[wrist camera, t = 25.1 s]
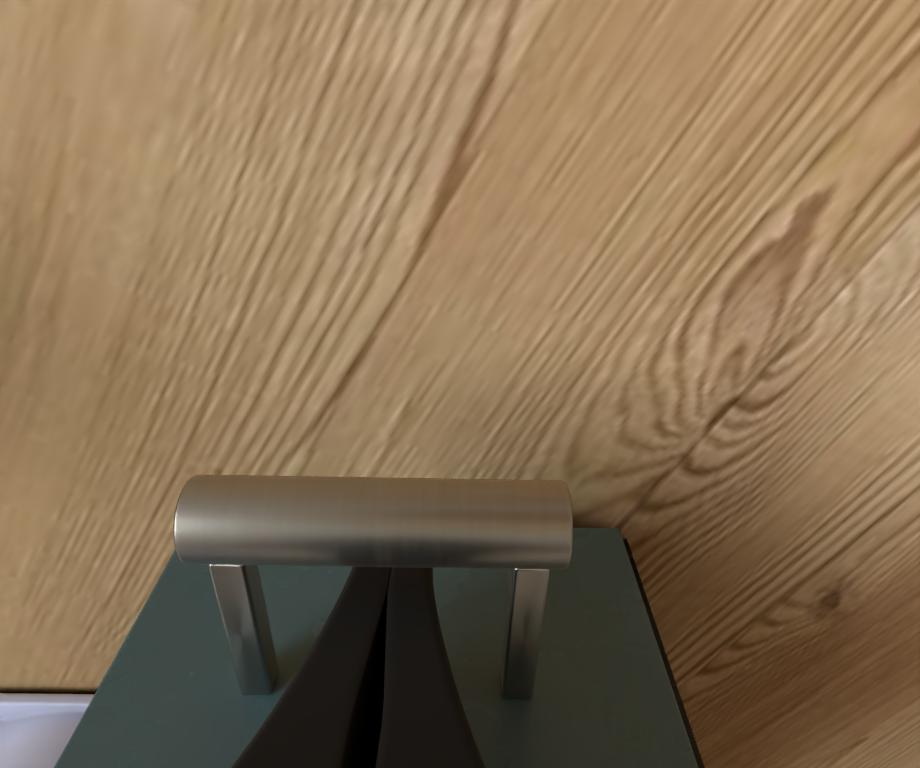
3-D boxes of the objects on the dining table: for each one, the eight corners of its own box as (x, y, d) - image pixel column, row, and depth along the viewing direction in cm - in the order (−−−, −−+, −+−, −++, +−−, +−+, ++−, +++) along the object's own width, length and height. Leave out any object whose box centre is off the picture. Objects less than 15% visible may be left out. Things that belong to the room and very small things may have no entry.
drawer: (145, 351, 13) (-139, 631, 7) (653, 361, 13) (827, 643, 7) (262, 794, 22) (185, 1089, 16) (564, 797, 22) (605, 1090, 16)
